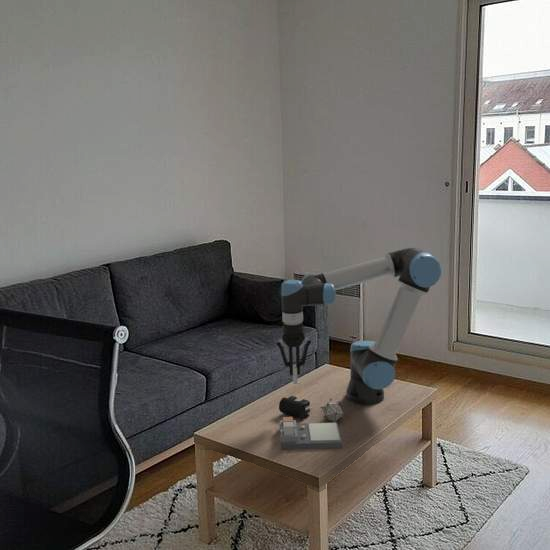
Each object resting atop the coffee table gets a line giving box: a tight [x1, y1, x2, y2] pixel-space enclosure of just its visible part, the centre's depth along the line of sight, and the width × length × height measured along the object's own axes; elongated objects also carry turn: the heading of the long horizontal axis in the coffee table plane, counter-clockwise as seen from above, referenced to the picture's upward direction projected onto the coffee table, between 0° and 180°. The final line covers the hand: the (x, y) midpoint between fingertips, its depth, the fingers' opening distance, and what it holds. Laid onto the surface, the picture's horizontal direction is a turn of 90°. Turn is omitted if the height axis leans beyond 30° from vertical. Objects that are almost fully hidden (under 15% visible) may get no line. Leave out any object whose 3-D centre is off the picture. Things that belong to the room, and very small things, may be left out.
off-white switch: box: [283, 422, 294, 436], centre depth 230 cm, size 4×4×4 cm
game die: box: [320, 398, 346, 422], centre depth 246 cm, size 9×8×10 cm
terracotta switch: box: [282, 416, 294, 422], centre depth 237 cm, size 4×4×4 cm
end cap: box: [278, 395, 311, 421], centre depth 251 cm, size 10×7×7 cm
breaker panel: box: [279, 419, 343, 450], centre depth 234 cm, size 21×16×4 cm
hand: (295, 382), depth 248 cm, fingers closed
